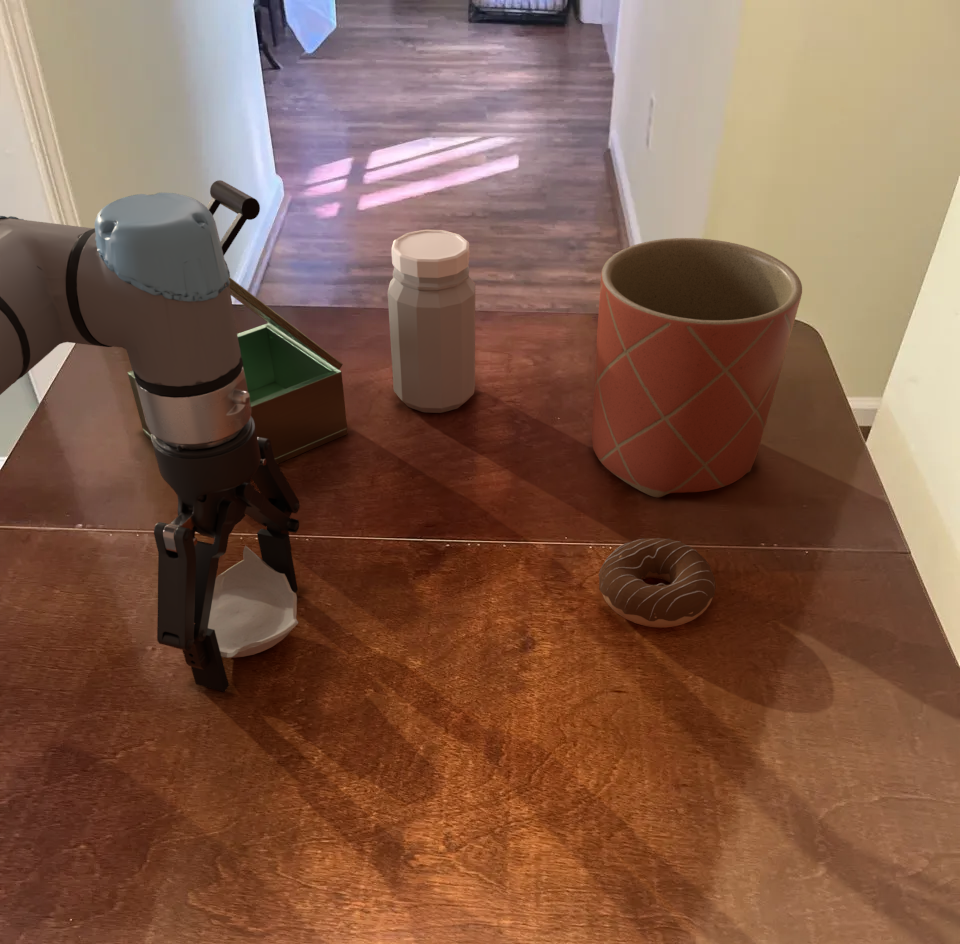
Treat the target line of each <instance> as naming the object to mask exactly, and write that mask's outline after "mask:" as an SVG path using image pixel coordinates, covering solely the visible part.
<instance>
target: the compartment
mask: <svg viewBox="0 0 960 944" xmlns="http://www.w3.org/2000/svg"><path fill="white" fill-rule="evenodd" d="M237 336H238V342H239V348H240V350H241V356H242V361H243V369H244V374H245V379H246V384H247V389H248V393H249V396H250V404H251V412H252V413H251V417H252V418H253V420H254V423H255V428H256V433H257V437H261V438H266V439H269V440H270V441H271V445H272V450H273V455H274V459H275V460H276V462H277V464H278V465H279V464H281V463H283V462H286V461H288V460H290V459H293V458H295V457H297V456H300V455H302V454H305V453H307V452H309V451H311V450H314V449H317V448H319V447H320V446H323V445H326V444H328V443H330V442H332V441H334V440H335V441H336V440H337V439H339V438H342V437H344V436H347V435H348V423H347V413H346V403H345V393H344V383H343V382H344V381H343V374H342V370H341V369H339V370H337V369H336V368H334V367H333V366H331V365H330V364H329V363H327V362H326V361H324V360H323V359H321V358H320V357H318V356H317V355H315V354H314V353H312V352H311V351H309V350H308V349H306V348H305V347H303V346H302V345H300V344H299V343H297V342H296V341H294V340H293V339H291V338H290V337H288V336H287V335H285V334H284V333H282V332H281V331H279V330H278V329H277V328H275V327H274V326H272V325H271V324H269V323H268V322H266V323H265V324H262V325H259V326H256V327H253V328H250V329H248V330H244V331H242V332H239V333H238V332H237ZM127 376H128V379H129V383H130V387H131V390H132V395H133V398H134V403H135V405H136V409H137V412H138V413H137V414H138V416H139V420H140V423H141V427H142V431H143V435H144V436H145V437H147V439H148V440H149V441H151V442H152V440H151V432H150V430H149V429H148V427H147V425H146V421H145V417H144V413H143V409H142V405H141V401H140V397H139V393H138V389H137V386H136V382H135V376H134V372H133V370H132V369H131V370H130V371H127Z"/></svg>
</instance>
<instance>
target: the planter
mask: <svg viewBox="0 0 960 944" xmlns="http://www.w3.org/2000/svg"><path fill="white" fill-rule="evenodd" d="M802 295H803V284H802V282H801V279H800V277H799V276H798V275H797V273H796V272H795V271H794V270H793V269H792V268H791V267H790V266H789V265H788V264H787V263H785V262H783V261H781V260H780V259H778V258H777V257H775V256H773V255H771V254H768V253H766V252H764V251H762V250H758V249H756V248H753V247H749V246H746V245H743V244H739V243H734V242H731V241H726V240H725V241H724V240H718V239H711V238H710V239H709V238H700V237H699V238H697V237H696V238H695V237H675V238H674V237H673V238H662V239H654V240H649V241H644V242H641V243H637V244H633V245H631V246H628V247H626V248H623V249H621V250H619V251H617V252H616V253H614V254H613V255H611V256H610V257H609V258H608V259H607V260H606V262H605V263H604V265H603V266H602V269H601V271H600V285H599V301H598V314H597V315H598V316H597V317H598V318H597V331H596V347H595V348H596V351H595V368H594V369H595V371H594V385H593V386H594V389H593V407H592V421H591V422H592V425H591V442H592V449H593V452H594V453H595V456H596V457H597V459H598V460H599V462H600V463H601V465H603V467H605V469H606V470H608V471H609V472H610V473H612V474H613V475H614V476H615V477H617V478H618V479H620V480H621V481H623V482H625V483H626V484H627V485H629V486H631V487H632V488H634V489H636V490H638V491H640V492H642V493H643V494H645V495H648V496H650V497H653V498H662V497H665V496H666V495H669V494H678V493H679V494H682V493H700V492H708V491H713V490H717V489H721V488H725V487H727V486H729V485H731V484H734V483H735V482H738V481H739V480H741V478H743V477H744V476H745V475H747V474H748V473H750V472H751V471H752V468H753V465H754V463H755V460H756V458H757V455H758V452H759V449H760V445H761V441H762V439H763V434H764V431H765V429H766V425H767V420H768V417H769V413H770V410H771V407H772V403H773V399H774V395H775V393H776V389H777V385H778V382H779V378H780V376H781V372H782V369H783V365H784V361H785V358H786V354H787V350H788V346H789V343H790V340H791V335H792V331H793V329H794V324H795V320H796V316H797V314H798V310H799V307H800V303H801V299H802Z"/></svg>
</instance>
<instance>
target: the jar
mask: <svg viewBox="0 0 960 944" xmlns="http://www.w3.org/2000/svg"><path fill="white" fill-rule="evenodd" d="M390 250H391V263H392V266H393V272H392V279H391V280H390V282H389V284H388V289H387V305H388V321H389V336H390V352H391V353H390V354H391V369H392V370H391V371H392V387H393V392H394V393H395V394H396V396H397V397H398V399H400V400H401V402H402V403H404V404H405V405H406V406H407V407H408V408H410V409H413V410H415V411H418V412H421V413H431V414H432V413H433V414H434V413H435V414H442V413H445V412H449V411H453V410H457V409H459V408H460V407H461V406H462V405H464V404H465V403H466V402H468V401H469V400H470V398H471V397H472V396H474V394H475V387H476V283H475V281H474V280H473V279H472V277H470V266H469V263H470V242H469V241H468V240H467V239H466V238H464V237H463V236H462V235H461V234H459V233H455V232H451V231H448V230H445V229H420V230H415V231H410V232H406V233H404V234H403V235H401V236H399V237H397V238H395V239H394V240H393V242H392V245H391V249H390Z"/></svg>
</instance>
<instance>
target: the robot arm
mask: <svg viewBox="0 0 960 944" xmlns="http://www.w3.org/2000/svg"><path fill="white" fill-rule="evenodd" d="M220 241H221V240H220V234H219V231H218V227H217V223H216V220H215V218H214V215H212V214H211V212H210V211H209V210H208V208H207V206H206V205H205V204H204V203H202V202H201V201H199V200H198V199H195V198H194V197H191V196H188V195H186V194H180V193H176V192H157V193H154V194H146V193H138V194H133V195H132V194H131V195H129V196H125V197H120V198H119V199H116V200H114V201H111V202H109V203H108V204H106V205H105V206H103V207H102V208H101V209H100V210H99V212H98V213H97V214H96V217H95V220H94V227H85V226H78V225H71V224H61V223H53V222H44V221H36V220H29V219H24V218H18V217H17V216H11V215H10V216H5V215H0V396H1V395H2V394H3V393H4V392H5V391H7V390H8V389H9V388H10V387H11V386H12V385H13V384H15V383H17V381H18V380H20V379H21V378H23V377H24V376H25V375H27V374H28V373H29V372H30V371H31V370H32V369H33V368H34V367H35V366H37V365H38V364H39V363H40V362H41V361H42V360H44V359H45V357H47V356H49V354H50V353H51V352H53V350H54V349H56V348H57V347H58V346H60V345H61V344H62V345H63V344H66V343H70V344H78V345H79V344H80V345H87V346H95V347H104V348H105V347H106V348H112V347H113V348H123V349H124V350H126V352H127V356H128V360H129V363H130V367H131V371H132V370H133V372H134V376H135V382H136V386H137V389H138V393H139V397H140V401H141V405H142V409H143V413H144V417H145V421H146V425H147V427H148V429H149V430H150V432H151V440H152V441H151V440H150V441H151V444H152V448H153V451H154V455H155V459H156V462H157V466H158V469H159V473H160V475H161V477H162V479H163V480H164V482H166V484H167V485H169V487H170V488H171V489H172V490H173V491H174V492H175V494H176V496H177V516H176V517H175V518H174V519H173V520H172V521H171V522H170V523H167V522H162V521H158V522H157V523H155V525H154V527H153V536H154V540H155V544H156V549H157V553H158V554H157V555H158V556H157V623H156V625H157V627H156V630H157V631H156V632H157V636H156V641H157V643H158V644H159V645H163V646H166V647H171V648H174V649H179V650H182V654H183V657H184V660H185V663H186V665H187V666H188V667H190V669H191V672H192V676H193V679H194V682H195V685H197V686H200V687H203V688H204V687H205V688H208V689H212V690H216V691H219V692H224V693H225V692H226V691H227V689H228V688H229V686H230V684H229V680H228V677H227V676H228V675H227V672H226V667H225V664H224V661H223V657H221V653H220V649H219V645H218V641H217V637H216V634H215V630H213V629H209V628H208V623H209V617H210V611H211V605H212V599H213V593H214V587H215V581H216V578H217V574H218V567H219V562H220V557H222V556H225V554H226V553H227V549H228V544H229V536H230V535H231V533H232V531H233V530H234V528H235V526H236V525H238V524H239V523H241V522H242V520H243V519H244V518H245V517H246V516H247V517H249V518H250V519H251V520H253V521H255V523H258V524H259V525H261V526H263V527H266V529H264V528H260V529H259V530H258V531H257V533H256V536H257V541H258V546H259V551H260V556H261V559H262V560H263V561H264V562H265V563H266V564H267V565H268V566H270V567H271V568H272V569H274V570H275V571H277V572H279V573H281V574H285V576H286V578H287V580H288V582H289V585H290V587H291V589H292V591H293V592H294V593H296V594H297V591H298V590H299V588H298V583H297V578H296V572H295V566H294V561H293V560H294V559H293V555H292V543H291V540H290V533H294V534H296V533H298V531H299V529H300V521H299V519H296V518H292V517H291V516H292V514H297V513H299V510H300V506H301V505H300V500H299V498H298V497H297V496H296V494H295V492H294V490H293V488H292V486H291V485H290V483H289V481H288V480H287V478H286V477H285V474H284V473H283V470H282V469H281V467H280V466H279V464H277V462H276V460H275V459H274V455H273V450H272V445H271V441H270V440H269V439H266V438H261V437H257V433H256V428H255V423H254V420H253V418H252V417H251V413H252V412H251V404H250V396H249V393H248V389H247V384H246V379H245V374H244V369H243V361H242V356H241V350H240V348H239V342H238V336H237V334H238V331H237V323H236V317H235V312H234V305H233V300H232V296H231V293H230V287H229V284H230V281H229V279H228V278H229V277H230V278H231V274H230V273H231V272H230V269H229V267H228V266H229V265H228V264H227V261H226V260H225V255H223V251H222V247H221V243H220ZM251 482H253V483H254V485H255V486H256V487H255V486H254V485H253V484H252V483H251ZM256 488H257V489H256ZM196 533H197V534H199V535H200V536H203V537H206V538H207V537H208V538H212V539H214V540H213V543H210V542H206V541H202V540H198V538H197V537H196V536H195V535H196Z"/></svg>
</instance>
